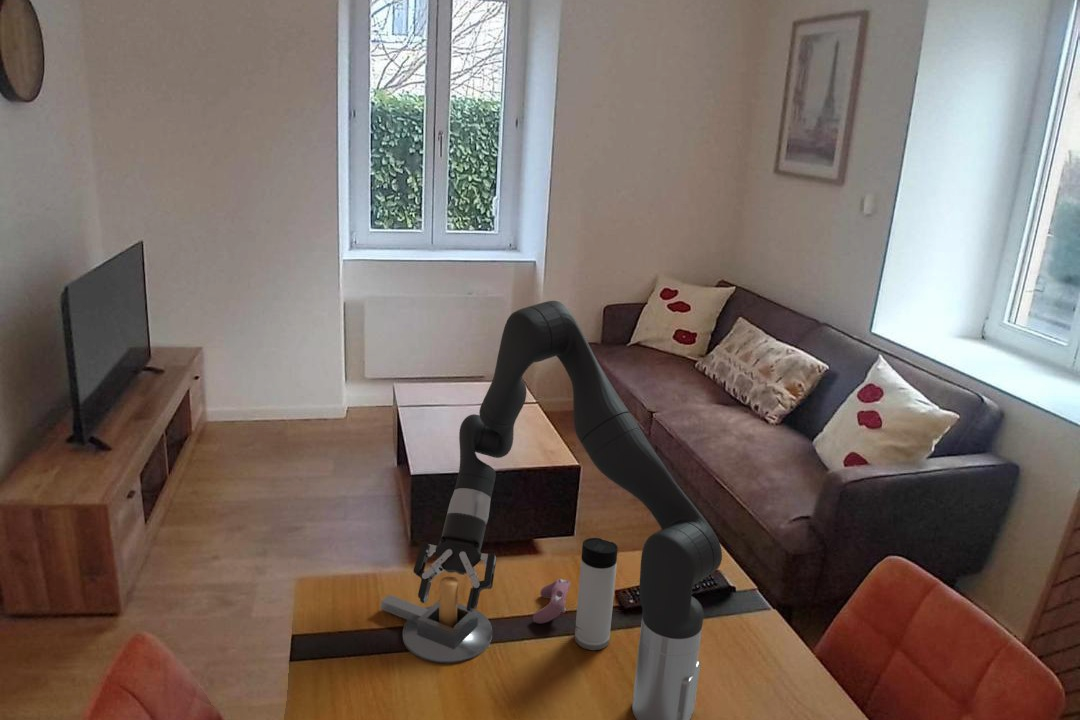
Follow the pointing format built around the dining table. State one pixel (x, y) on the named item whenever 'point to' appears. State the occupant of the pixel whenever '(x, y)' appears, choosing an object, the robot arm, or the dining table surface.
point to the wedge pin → (448, 601)
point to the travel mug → (595, 593)
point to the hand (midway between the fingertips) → (446, 606)
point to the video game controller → (553, 601)
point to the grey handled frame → (440, 631)
